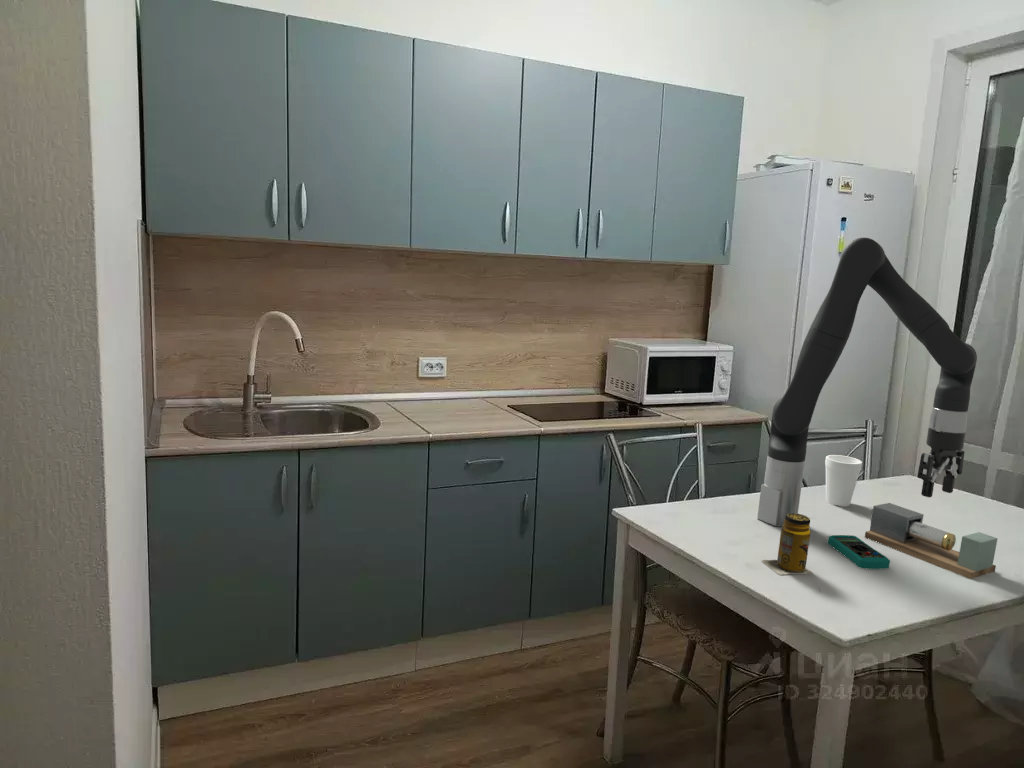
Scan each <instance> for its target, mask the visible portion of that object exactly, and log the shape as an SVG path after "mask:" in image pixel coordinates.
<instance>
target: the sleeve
mask: <svg viewBox="0 0 1024 768" xmlns="http://www.w3.org/2000/svg"><path fill="white" fill-rule="evenodd" d="M871 515H872V519H871V518H870V525H869V527H870V528H869V531H872V532H874V533H877V534H879V535H882V536H885V537H887V538H890V539H893V540H895V541H898V542H900V543H903V544H904V543H909V542H913V541H917V540H918V539H916V538H913V537H910V536H908V535H907V531H908V525H909V521H910V520H914V521H917V522H920V523H923V521H924V513H920V512H917V511H916V510H915V511H914V510H912V509H908V508H906V507H903V506H899V505H897V504H894V503H891V502H886V503H882V504H876V505H873V507H872V513H871Z"/></svg>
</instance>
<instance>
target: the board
mask: <svg viewBox="0 0 1024 768" xmlns="http://www.w3.org/2000/svg"><path fill="white" fill-rule="evenodd" d="M864 533H865V534H864V538H865V537H866V538H865V539H868V538H869V540H870V539H871V540H870V541H873V540H874V541H873V542H875V541H877V542H876V543H878V542H879V543H878V544H880V543H882V544H881V545H883V544H884V545H883V546H886V547H888V546H889V547H888V548H891V547H892V548H891V549H893V548H894V549H893V550H896V549H897V550H896V551H898V550H899V551H898V552H901V551H902V552H901V553H903V552H904V554H906V555H908V554H909V556H911V557H914V558H916V559H919V560H921V561H923V562H925V563H929V564H932V565H934V566H935V567H939V568H942V569H944V570H947V571H949V572H951V573H954V574H957V575H959V576H962V577H964V578H967V579H969V578H970V580H972V578H973V579H975V578H980V577H982V576H985V575H988V574H992V573H995V572H996V564H993V566H992V567H989V568H986V569H983V570H979V571H976V572H975V571H973V570H970V569H967V568H965V567H962V566H960V565H957V564H958V558H959V552H960V551H957V550H954V549H953V548H952V549H951V550H949V551H948V550H945V549H943V548H940V547H937V546H935V545H932V544H929V543H927V542H924V541H921V540H917V541H913V542H909V543H904V544H903V543H900V542H898V541H895V540H893V539H890V538H887V537H885V536H882V535H879V534H877V533H874V532H872V531H870V530H868V531H865V532H864Z"/></svg>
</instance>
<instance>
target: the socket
mask: <svg viewBox="0 0 1024 768" xmlns="http://www.w3.org/2000/svg"><path fill="white" fill-rule="evenodd" d="M997 543H998V538H997V537H994V536H991V535H989V534H987V533H983V532H980V531H978V532H974V533H970V534H966V535H963V536H962V537H961V542H960V547H959V551H958V552H959V558H958V564H957V565H960V566H962V567H965V568H967V569H970V570H973V571H975V572H976V571H979V570H983V569H986V568H989V567H992V566H993V565H994V560H995V556H996V549H997V545H998V544H997Z"/></svg>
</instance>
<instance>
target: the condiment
mask: <svg viewBox="0 0 1024 768" xmlns="http://www.w3.org/2000/svg"><path fill="white" fill-rule="evenodd" d="M810 525H811V519H810V517H808V516H807V515H804V514H800V513H798V514H796V513H788V514H786V516H785V520H784V525H783V526H781V528H780V537H779V544H778V550H777V551H778V552H777V559H761V562H763V564H764V565H766V566H767V567H768V568H769V569H770V570H772V571H774V572H775V573H777V574H778V575H779V576H781V575H785V576H786V575H808V574H809V575H810V574H814V572H813V571H812V570H810V569H808V568H807V567H806V566H807V560H808V554H809V547H810V546H809V545H810V539H811V538H810V537H811V530H810V528H811V527H810Z"/></svg>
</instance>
